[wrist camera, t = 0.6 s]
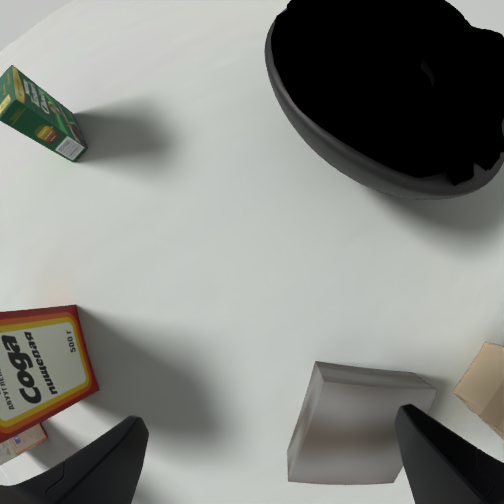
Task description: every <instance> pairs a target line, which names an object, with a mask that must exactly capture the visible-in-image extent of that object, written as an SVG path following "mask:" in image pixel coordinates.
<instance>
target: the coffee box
mask: <svg viewBox="0 0 504 504" xmlns="http://www.w3.org/2000/svg"><path fill="white" fill-rule="evenodd" d="M0 121H2V122H3V123H5V124H7V125H8V126H10V127H12V128H14V129H15V130H17V131H19V132H20V133H22V134H24V135H26V136H28V137H29V138H31V139H33V140H34V141H36V142H38V143H40V144H41V145H43V146H45V147H46V148H48V149H50V150H52V151H53V152H55V153H57V154H59V155H60V156H62V157H64V158H66V159H67V160H70V161H71V162H75V161H76V160H77V159H78V158H79V157H80V156H81V154H82V153H83V152H84V151H86V150H87V149H88V147H87V144H86V142H85V140H84V138H83V136H82V134H81V131H80V129H79V127H78V125H77V122H76V120H75V118H74V116H73V113H72V112H71V111H69V110H68V109H67V108H65V107H64V106H63V105H62V104H60V103H59V102H58V101H56V100H55V99H54V98H53V97H51V96H50V95H49V94H48V93H47V92H45V91H44V90H43V89H41V88H40V87H39V86H38V85H36V84H35V83H34V82H33V81H32V80H30V79H29V78H28V77H27V76H25V75H24V74H23V73H22V72H21V71H19V70H18V69H17V68H16V67H14V66H13V65H11V66H10V67H9V68H8V69H7V70H6V71H5V73H4V74H3V75H2V76H1V77H0Z"/></svg>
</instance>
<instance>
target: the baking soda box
mask: <svg viewBox="0 0 504 504" xmlns="http://www.w3.org/2000/svg"><path fill="white" fill-rule="evenodd" d="M98 390H99V387H98V385H97V382H96V379H95V376H94V373H93V369H92V366H91V363H90V360H89V356H88V353H87V349H86V345H85V342H84V338H83V334H82V330H81V326H80V321H79V317H78V312H77V308H76V305H68V306H59V307H49V308H39V309H29V310H18V311H7V312H0V443H2V442H4V441H6V440H8V439H10V438H12V437H14V436H16V435H18V434H20V433H22V432H24V431H26V430H28V429H30V428H31V427H33V426H35V425H37V424H39V423H41V422H43V421H45V420H46V419H48V418H50V417H52V416H54V415H56V414H57V413H59V412H61V411H63V410H65V409H66V408H68V407H70V406H72V405H73V404H75V403H77V402H79V401H80V400H82V399H84V398H86V397H87V396H89V395H91V394H93V393H94V392H96V391H98Z"/></svg>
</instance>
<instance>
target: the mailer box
mask: <svg viewBox="0 0 504 504" xmlns="http://www.w3.org/2000/svg"><path fill="white" fill-rule="evenodd" d="M503 380H504V347H501V346H498V345H494V344H491V343H488V342H485V344H484V345H483V347H482V349H481V350H480V352H479V353H478V355H477V357H476V358H475V360H474V361H473V363H472V364H471V366H470V367H469V369H468V370H467V372H466V373H465V375H464V376H463V378H462V379H461V380H460V382H459V383H458V385H457V386H456V387H455V389H454V390H453V391H452V392H453V393H454V394H455V395H457V396H458V397H459V398H460V399H461V400H462V401H463V402H464V403H465V404H466V405H467V406H468V407H469V408H470V409H471V410H472V411H474V412H475V413H476V414H477V415H480V414H481V412H482V411H483V410H484V408H485V407H486V406H487V404H488V403H489V401H490V400H491V398H492V397H493V395H494V394H495V392H496V391H497V389H498V388H499V386H500V385H501V383H502V382H503Z"/></svg>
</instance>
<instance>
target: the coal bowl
mask: <svg viewBox="0 0 504 504" xmlns="http://www.w3.org/2000/svg"><path fill="white" fill-rule="evenodd" d="M265 62H266V67H267V71H268V76H269V79H270V82H271V85H272V88H273V91H274V93H275V96H276V98H277V100H278V102H279V104H280V106H281V108H282V110H283V112H284V113H285V115H286V116H287V118H288V120H289V121H290V123H291V124H292V125H293V127H294V128H295V129H296V131H297V132H298V133H299V135H300V136H301V137H302V138H303V139H304V141H305V142H306V143H307V144H308V145H309V146H310V147H311V148H312V149H313V150H314V151H315V152H316V153H317V154H318V155H319V156H320V157H322V158H323V159H324V160H325V161H326V162H328V163H329V164H330V165H332V166H333V167H334V168H336V169H337V170H339V171H340V172H342V173H343V174H345V175H347V176H348V177H350V178H351V179H353V180H355V181H357V182H359V183H361V184H363V185H365V186H368V187H370V188H372V189H375V190H378V191H381V192H384V193H387V194H391V195H395V196H399V197H404V198H411V199H423V200H438V199H448V198H453V197H458V196H462V195H466V194H469V193H471V192H474V191H476V190H478V189H480V188H482V187H483V186H485V185H486V184H487V183H488V182H490V181H491V180H492V179H493V177H494V176H495V175H496V174H497V172H498V171H499V169H500V168H501V166H502V164H503V161H504V37H503V35H502V34H500V33H498V32H494V31H492V30H487V29H480V28H476V27H473V26H471V25H470V24H469V22H468V21H467V20H465V18H464V16H463V15H462V14H461V13H460V12H459V11H458V10H457V9H456V8H455V7H454V6H452V5H451V4H450V3H448V2H447V1H445V0H291V1H290V2H289V3H288V4H287V8H286V9H285V10H284V11H282V12H281V13H280V14H279V15H277V16H276V19H275V20H274V22H273V23H272V25H271V27H270V29H269V32H268V34H267V38H266V42H265Z"/></svg>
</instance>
